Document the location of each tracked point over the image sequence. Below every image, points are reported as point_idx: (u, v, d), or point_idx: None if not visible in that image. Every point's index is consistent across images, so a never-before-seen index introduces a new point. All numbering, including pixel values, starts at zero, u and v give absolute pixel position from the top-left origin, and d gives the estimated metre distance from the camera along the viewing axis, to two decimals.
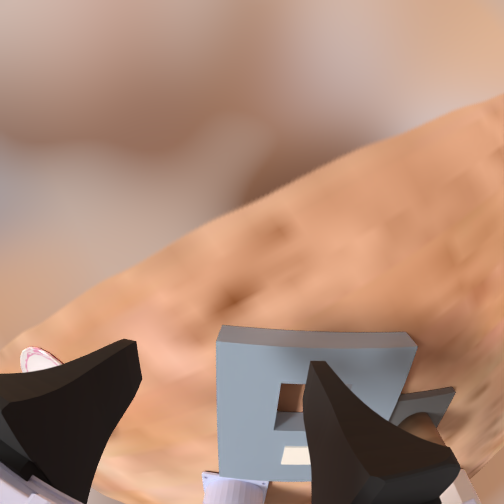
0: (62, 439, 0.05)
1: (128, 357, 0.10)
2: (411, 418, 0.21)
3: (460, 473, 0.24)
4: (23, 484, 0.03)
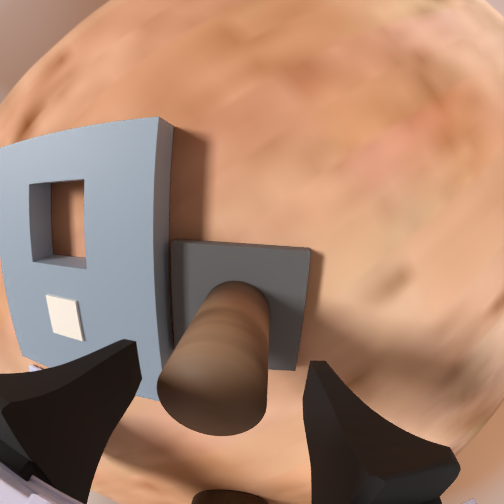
0: (62, 439, 0.05)
1: (128, 357, 0.10)
2: (218, 286, 0.16)
3: None
4: (23, 484, 0.03)
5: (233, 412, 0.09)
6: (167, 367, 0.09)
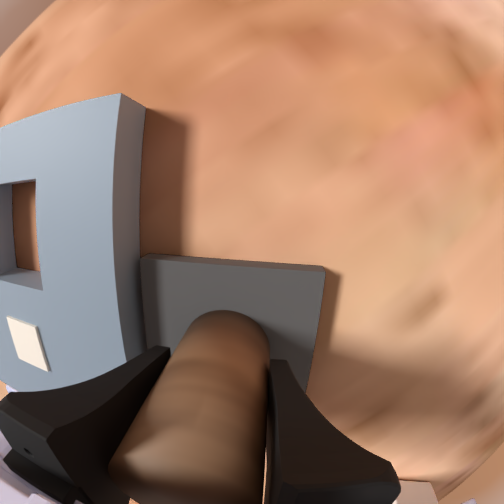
0: (105, 458, 0.05)
1: (163, 364, 0.10)
2: (201, 317, 0.12)
3: (420, 490, 0.15)
4: (23, 484, 0.03)
5: None
6: (116, 459, 0.05)
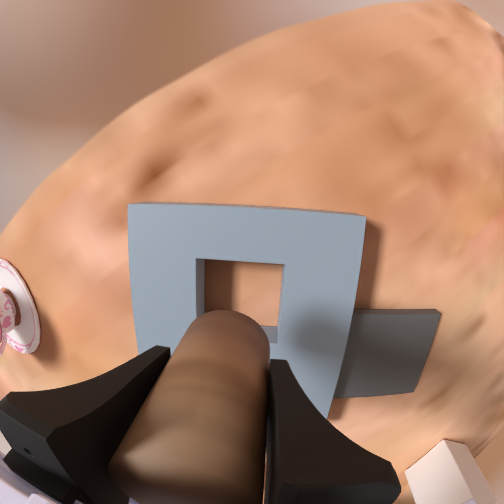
0: (105, 458, 0.05)
1: (163, 364, 0.10)
2: (200, 318, 0.12)
3: (461, 448, 0.22)
4: (23, 484, 0.03)
5: None
6: (115, 460, 0.05)
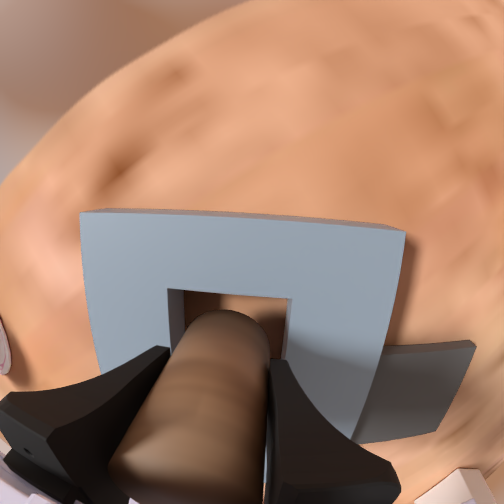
0: (105, 458, 0.05)
1: (163, 364, 0.10)
2: (200, 318, 0.12)
3: (475, 474, 0.17)
4: (23, 484, 0.03)
5: None
6: (114, 459, 0.05)
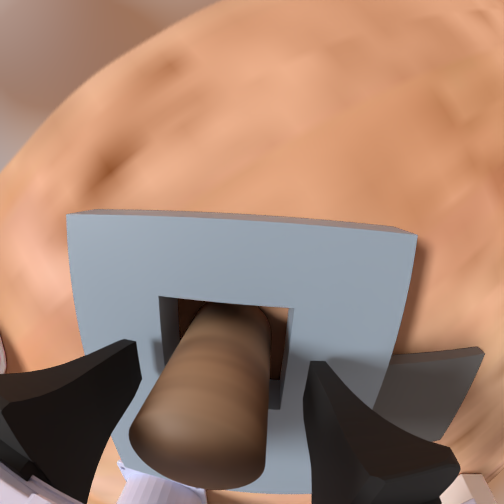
0: (62, 439, 0.05)
1: (128, 357, 0.10)
2: (208, 304, 0.13)
3: (478, 480, 0.16)
4: (23, 484, 0.03)
5: (223, 470, 0.06)
6: (137, 420, 0.06)
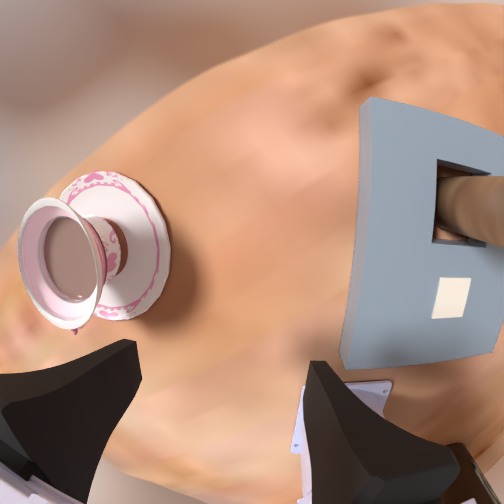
0: (62, 439, 0.05)
1: (128, 357, 0.10)
2: (439, 178, 0.17)
3: None
4: (23, 484, 0.03)
5: None
6: None
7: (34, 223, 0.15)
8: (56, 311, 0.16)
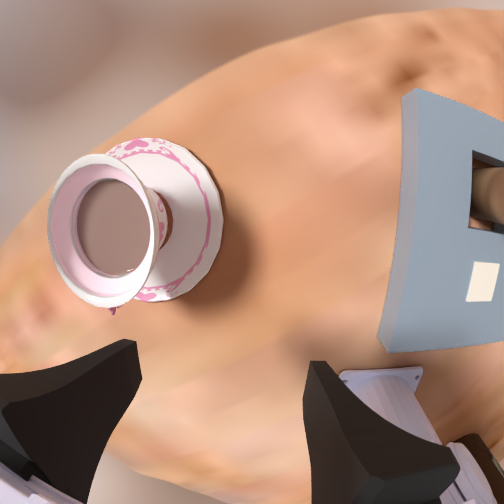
0: (62, 439, 0.05)
1: (128, 357, 0.10)
2: None
3: None
4: (23, 484, 0.03)
5: None
6: None
7: (70, 187, 0.14)
8: (91, 288, 0.15)
